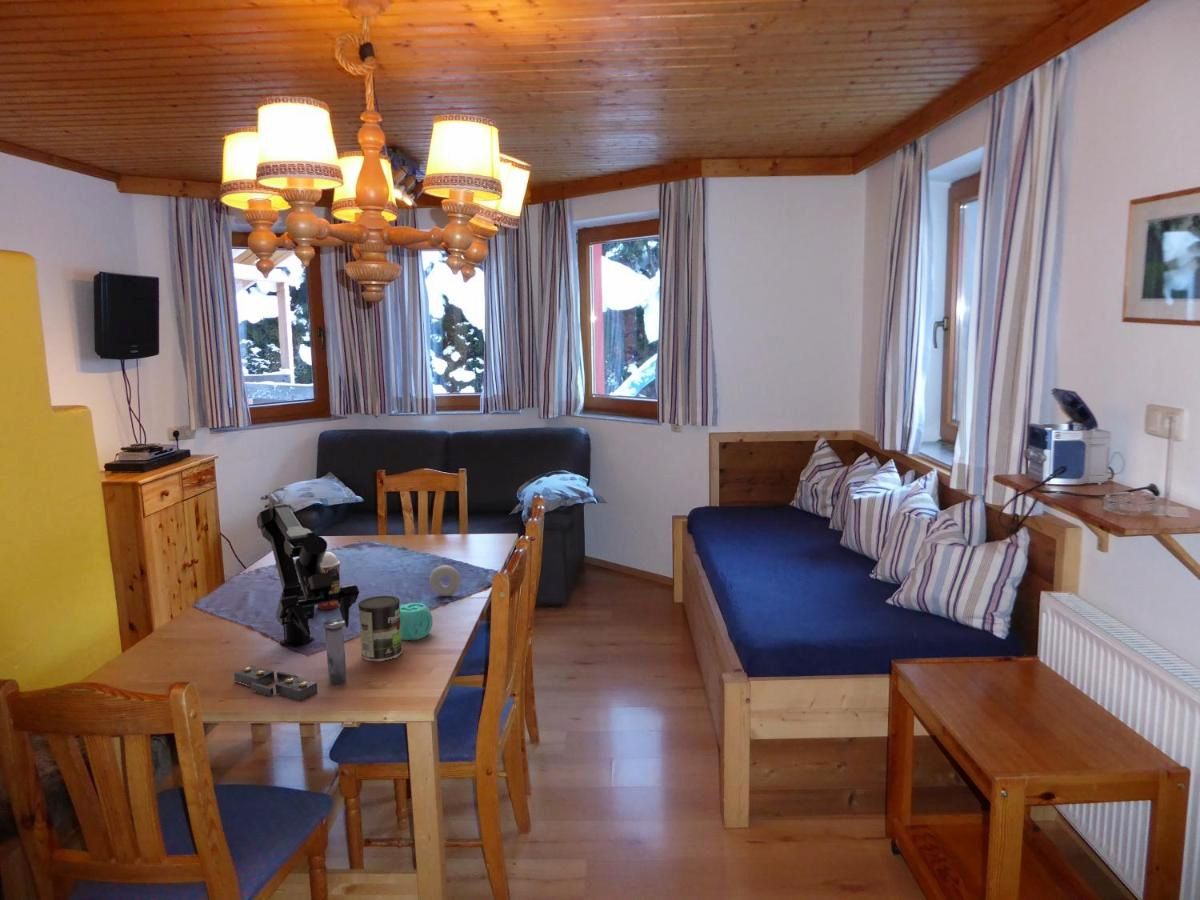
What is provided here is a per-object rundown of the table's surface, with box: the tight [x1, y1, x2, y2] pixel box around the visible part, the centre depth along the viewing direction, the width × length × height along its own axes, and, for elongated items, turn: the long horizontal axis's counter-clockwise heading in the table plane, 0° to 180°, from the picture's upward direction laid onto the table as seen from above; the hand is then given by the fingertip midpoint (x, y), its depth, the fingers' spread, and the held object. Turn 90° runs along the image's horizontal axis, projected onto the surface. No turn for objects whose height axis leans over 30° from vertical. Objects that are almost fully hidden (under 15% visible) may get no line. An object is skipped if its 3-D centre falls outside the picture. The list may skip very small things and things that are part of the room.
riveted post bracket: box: [233, 664, 318, 702], centre depth 199 cm, size 22×8×3 cm, turn 61°
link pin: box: [323, 618, 347, 687], centre depth 200 cm, size 5×5×15 cm
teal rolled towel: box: [400, 602, 434, 641], centre depth 231 cm, size 8×8×8 cm
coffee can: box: [358, 595, 403, 662], centre depth 217 cm, size 10×10×14 cm
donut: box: [429, 564, 462, 597], centre depth 264 cm, size 10×4×10 cm, turn 83°
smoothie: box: [317, 550, 341, 610], centre depth 255 cm, size 8×8×20 cm
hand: (328, 630), depth 203 cm, fingers open, 9 cm apart
